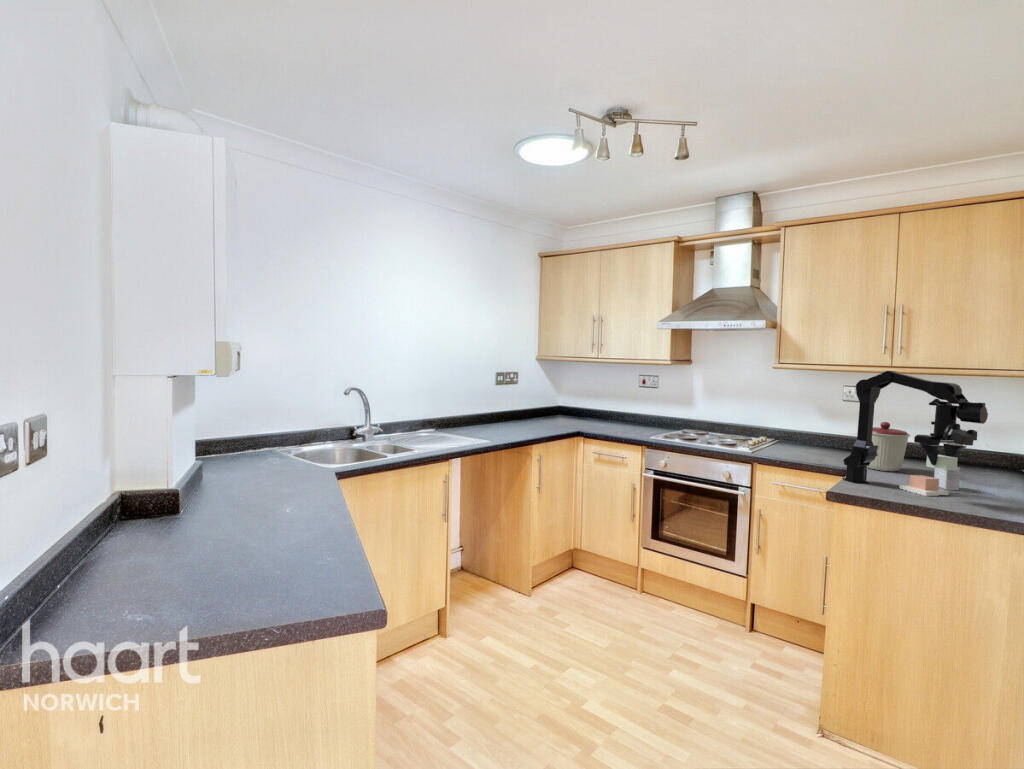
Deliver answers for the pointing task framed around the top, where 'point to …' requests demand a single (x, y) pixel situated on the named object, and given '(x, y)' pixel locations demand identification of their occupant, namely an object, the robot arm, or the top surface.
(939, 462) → the pale green block
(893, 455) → the canister
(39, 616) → the top surface
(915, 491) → the base plate
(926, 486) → the bottom brick
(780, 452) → the top surface
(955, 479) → the medicine box
